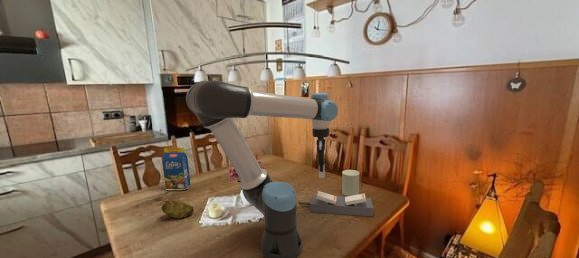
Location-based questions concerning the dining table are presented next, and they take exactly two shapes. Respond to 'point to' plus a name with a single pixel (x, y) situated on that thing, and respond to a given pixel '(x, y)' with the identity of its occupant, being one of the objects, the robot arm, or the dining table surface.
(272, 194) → the robot arm
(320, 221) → the dining table surface
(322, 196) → the block
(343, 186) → the can
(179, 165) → the blue food package
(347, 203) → the small box
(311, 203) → the rocker switch panel
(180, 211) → the olive green oval lump
